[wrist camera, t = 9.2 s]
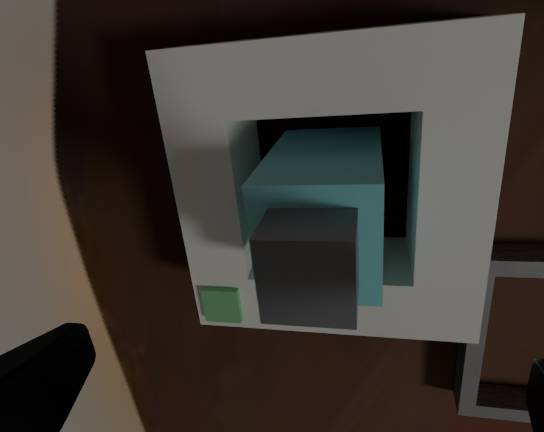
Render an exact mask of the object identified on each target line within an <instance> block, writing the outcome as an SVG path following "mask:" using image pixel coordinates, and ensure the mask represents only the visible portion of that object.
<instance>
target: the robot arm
mask: <svg viewBox="0 0 544 432" xmlns="http://www.w3.org/2000/svg"><path fill="white" fill-rule="evenodd" d="M95 357H96V353H95V349H94V346H93V343H92V340H91V337H90V334H89V331H88V329H87V327H86V326H85V325H84V324H79V323H65V324H63V325H61V326H59V327H57V328H55V329H53V330H51V331H49V332H47V333H45V334H43V335H41V336H39V337H37V338H35V339H33V340H31V341H29V342H27V343H25V344H23V345H20V346H19V347H16V348H14V349H13V350H10V351H8V352H6V353H4V354H2V355H0V432H60V430H61V428H62V427H63V425H64V422H65V421H66V419H67V417H68V415H69V413H70V411H71V409H72V407H73V405H74V403H75V401H76V399H77V396H78V395H79V393H80V391H81V389H82V387H83V385H84V382H85V381H86V378H87V376H88V374H89V372H90V370H91V368H92V366H93V364H94V362H95ZM526 404H527V409H528V413H529V417H530V421H531V425H532V429H533V432H544V359H541V358H538V359H536V360H534V362H533V363H532V367H531V372H530V376H529V381H528V386H527V390H526Z"/></svg>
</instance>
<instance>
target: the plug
mask: <svg viewBox="0 0 544 432" xmlns="http://www.w3.org/2000/svg"><path fill="white" fill-rule="evenodd" d="M384 185H385V184H384V172H383V160H382V148H381V136H380V126H368V127H347V128H325V129H304V130H286V131H285V132H284V133H283V135H282V136H281V137H280V138H279V140H278V141H277V142H276V143H275V145H274V146H273V147H272V148H271V150H270V151H269V152H268V154H267V155H266V156H265V157H264V159H263V160H262V161H261V162H260V164H259V165H258V166H257V167H256V169H255V170H254V171H253V172H252V174H251V175H250V176H249V178H248V179H247V180H246V181H245V183H244V184H243V185H242V192H243V200H244V208H245V215H246V223H247V230H248V238H249V245H250V253H251V260H252V268H253V276H254V283H255V291H256V298H257V300H258V307H259V315H260V323H261V324H273V325H288V326H303V327H318V328H334V329H349V330H357V317H358V305H359V306H378V307H382V301H383V243H384Z"/></svg>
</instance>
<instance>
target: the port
mask: <svg viewBox="0 0 544 432" xmlns="http://www.w3.org/2000/svg"><path fill="white" fill-rule="evenodd" d="M524 18H525V13H519V14H502V15H487V16H477V17H467V18H457V19H447V20H437V21H427V22H417V23H407V24H397V25H387V26H377V27H367V28H357V29H347V30H337V31H327V32H317V33H307V34H297V35H287V36H277V37H267V38H257V39H247V40H237V41H227V42H217V43H207V44H197V45H188V46H180V47H172V48H164V49H156V50H148V51H145V52H146V57H147V62H148V67H149V72H150V77H151V82H152V87H153V92H154V97H155V102H156V107H157V111H158V116H159V121H160V126H161V131H162V136H163V141H164V146H165V151H166V156H167V161H168V165H169V170H170V175H171V180H172V185H173V190H174V195H175V200H176V205H177V210H178V215H179V220H180V224H181V229H182V234H183V239H184V244H185V249H186V254H187V259H188V264H189V269H190V274H191V278H192V283H193V288H194V293H195V298H196V303H197V308H198V313H199V318H200V323H201V324H204V325H218V326H233V327H247V328H261V329H275V330H289V331H304V332H318V333H332V334H346V335H360V336H374V337H389V338H403V339H417V340H431V341H445V342H459V343H474V344H479V338H480V331H481V324H482V317H483V310H484V303H485V296H486V288H487V281H488V274H489V267H490V260H491V253H492V246H493V239H494V232H495V224H496V217H497V210H498V203H499V196H500V189H501V182H502V175H503V168H504V160H505V153H506V146H507V139H508V132H509V125H510V118H511V111H512V104H513V97H514V89H515V82H516V75H517V68H518V61H519V54H520V47H521V40H522V33H523V25H524ZM396 112H411V125H410V149H409V172H408V195H407V218H406V237H384V243H383V301H382V307H378V306H359V305H358V317H357V330H349V329H334V328H318V327H303V326H288V325H273V324H261V323H260V315H259V307H258V300H257V298H256V291H255V283H254V276H253V268H252V260H251V253H250V245H249V238H248V230H247V223H246V215H245V208H244V200H243V192H242V185H243V184H244V183H245V181H246V180H247V179H248V178H249V176H250V175H251V174H252V172H253V171H254V170H255V169H256V167H257V166H258V165H259V164H260V162H261V158H260V149H259V139H258V130H257V121H256V120H262V119H281V118H301V117H320V116H339V115H358V114H377V113H396Z"/></svg>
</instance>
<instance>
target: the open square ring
mask: <svg viewBox="0 0 544 432" xmlns="http://www.w3.org/2000/svg"><path fill="white" fill-rule="evenodd" d="M495 276H497V277H525V278H544V245H536V244H493V246H492V253H491V260H490V267H489V274H488V281H487V288H486V296H485V303H484V310H483V317H482V324H481V331H480V338H479V344H474V343H459V342H458V350H457V359H456V368H455V376H454V385H453V395H454V399H455V404H456V408H457V413H458V415H464V416H473V417H482V418H491V419H501V420H510V421H519V422H528V423H531V421H530V417H529V413H528V409H527V404H526V390H527V387H516V386H505V385H494V384H483V383H479V380H480V374H481V367H482V360H483V353H484V347H485V340H486V333H487V327H488V320H489V313H490V306H491V300H492V293H493V286H494V279H495Z"/></svg>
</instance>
